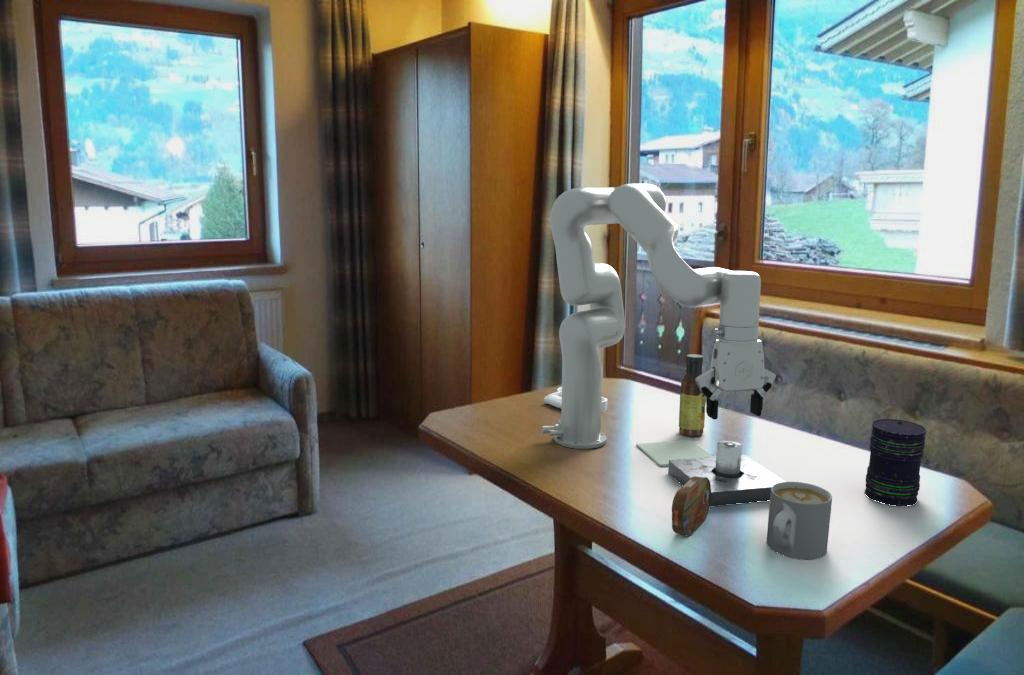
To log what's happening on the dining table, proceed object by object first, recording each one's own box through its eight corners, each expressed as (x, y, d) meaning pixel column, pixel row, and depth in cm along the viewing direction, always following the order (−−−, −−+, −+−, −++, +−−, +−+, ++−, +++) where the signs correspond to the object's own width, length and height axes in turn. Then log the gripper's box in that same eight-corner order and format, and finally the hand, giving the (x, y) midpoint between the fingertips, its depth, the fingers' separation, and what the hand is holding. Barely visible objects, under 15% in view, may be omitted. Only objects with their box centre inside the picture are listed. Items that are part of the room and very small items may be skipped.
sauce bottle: (706, 437, 195) (711, 359, 191) (680, 437, 195) (685, 358, 191) (700, 429, 201) (705, 353, 197) (675, 428, 201) (680, 352, 197)
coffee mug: (789, 528, 145) (794, 477, 143) (838, 550, 137) (844, 495, 135) (741, 547, 138) (745, 493, 136) (790, 570, 130) (795, 513, 128)
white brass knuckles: (536, 403, 224) (575, 395, 232) (578, 419, 210) (618, 409, 218) (536, 391, 223) (575, 384, 232) (579, 406, 209) (619, 398, 218)
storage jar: (916, 511, 154) (925, 437, 151) (861, 500, 158) (869, 429, 155) (918, 493, 162) (927, 423, 159) (866, 484, 167) (874, 416, 164)
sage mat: (660, 466, 175) (660, 464, 175) (636, 445, 188) (636, 443, 188) (718, 462, 178) (718, 460, 178) (690, 441, 192) (690, 439, 191)
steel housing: (707, 507, 154) (708, 492, 153) (668, 473, 171) (668, 460, 171) (789, 499, 158) (790, 485, 158) (743, 467, 175) (744, 454, 175)
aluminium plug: (721, 491, 162) (724, 448, 160) (709, 482, 166) (712, 440, 165) (743, 489, 163) (746, 447, 161) (731, 480, 168) (734, 439, 166)
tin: (684, 543, 139) (686, 498, 137) (666, 539, 140) (669, 494, 139) (711, 513, 151) (714, 472, 150) (695, 510, 153) (698, 468, 151)
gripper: (707, 338, 152) (703, 424, 156) (787, 334, 156) (782, 418, 160) (689, 332, 160) (686, 413, 163) (767, 328, 164) (762, 408, 167)
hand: (734, 415), depth 161 cm, fingers open, 9 cm apart
